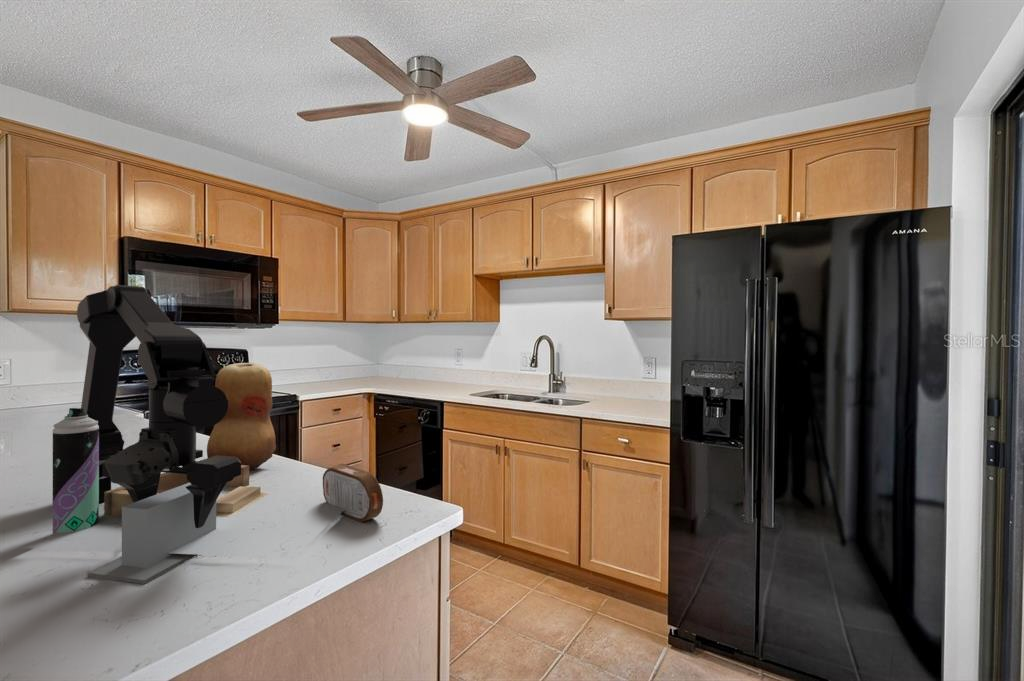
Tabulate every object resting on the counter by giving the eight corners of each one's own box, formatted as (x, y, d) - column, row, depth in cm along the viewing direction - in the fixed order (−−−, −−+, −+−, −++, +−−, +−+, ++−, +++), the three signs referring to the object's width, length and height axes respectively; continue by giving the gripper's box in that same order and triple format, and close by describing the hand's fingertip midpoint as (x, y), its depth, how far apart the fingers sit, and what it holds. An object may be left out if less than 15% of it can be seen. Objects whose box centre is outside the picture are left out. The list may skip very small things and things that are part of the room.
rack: (104, 521, 82) (104, 492, 82) (199, 485, 101) (199, 461, 101) (163, 527, 80) (163, 497, 80) (249, 489, 99) (249, 465, 99)
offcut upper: (210, 512, 84) (210, 503, 84) (239, 494, 93) (239, 486, 93) (232, 512, 84) (233, 503, 84) (260, 495, 93) (260, 487, 93)
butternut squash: (221, 485, 102) (222, 366, 101) (197, 472, 110) (198, 362, 110) (286, 470, 112) (287, 363, 112) (260, 460, 121) (261, 360, 120)
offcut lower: (201, 525, 82) (201, 515, 82) (244, 501, 94) (244, 491, 94) (229, 527, 82) (229, 516, 82) (269, 502, 94) (269, 493, 94)
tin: (384, 522, 84) (384, 474, 83) (369, 528, 81) (369, 478, 81) (334, 503, 93) (334, 459, 92) (319, 507, 90) (319, 462, 90)
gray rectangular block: (121, 565, 66) (121, 507, 66) (194, 530, 78) (194, 480, 78) (146, 568, 65) (146, 509, 65) (216, 532, 77) (216, 482, 77)
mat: (87, 576, 64) (87, 572, 64) (194, 525, 81) (194, 522, 81) (144, 584, 62) (144, 580, 62) (241, 530, 79) (241, 527, 79)
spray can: (46, 542, 74) (46, 411, 73) (59, 529, 78) (60, 406, 78) (92, 535, 76) (93, 409, 76) (102, 523, 81) (103, 404, 81)
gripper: (61, 426, 65) (61, 541, 65) (180, 434, 61) (179, 555, 62) (139, 412, 76) (139, 511, 76) (244, 418, 72) (243, 522, 73)
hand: (172, 524), depth 71 cm, fingers open, 9 cm apart
